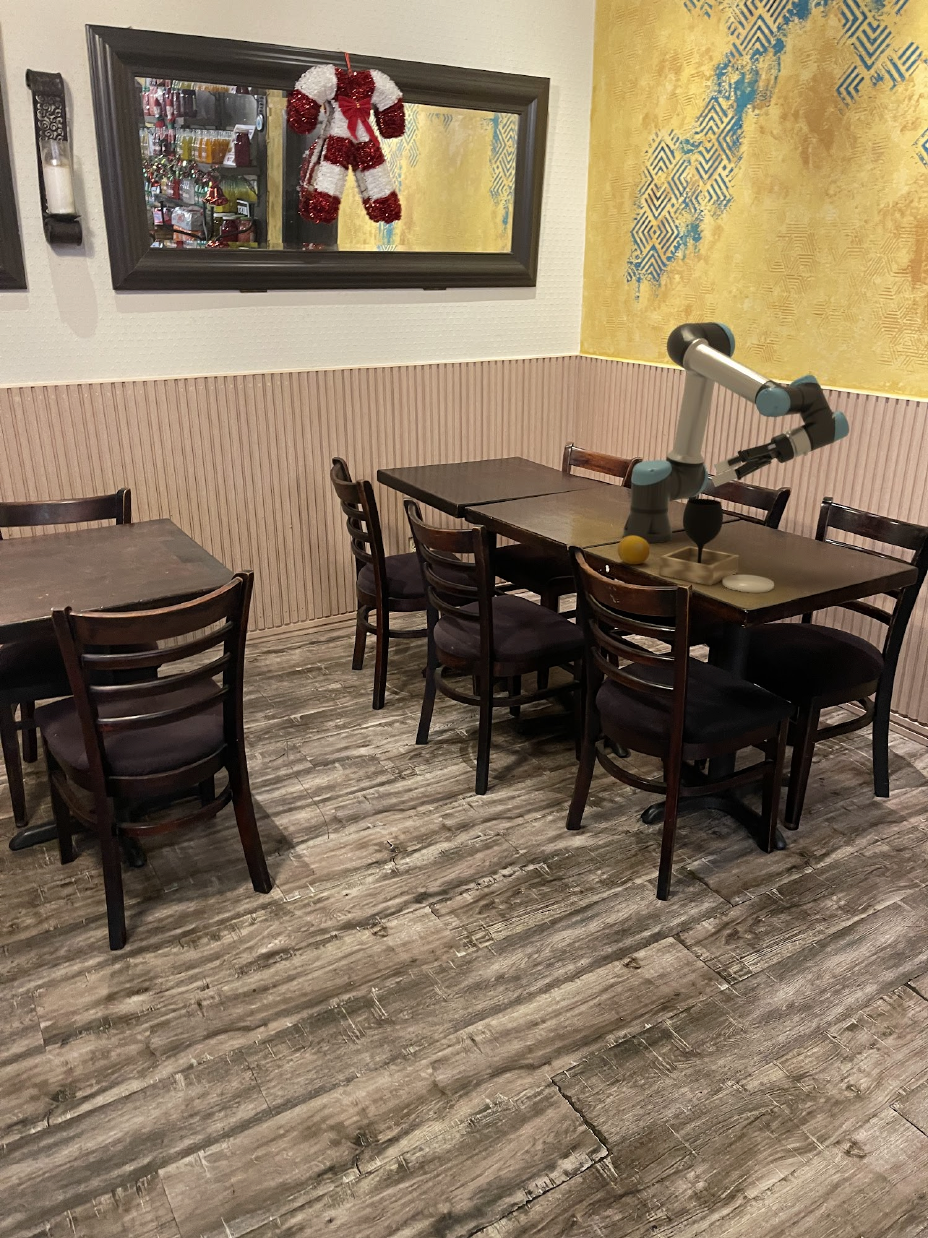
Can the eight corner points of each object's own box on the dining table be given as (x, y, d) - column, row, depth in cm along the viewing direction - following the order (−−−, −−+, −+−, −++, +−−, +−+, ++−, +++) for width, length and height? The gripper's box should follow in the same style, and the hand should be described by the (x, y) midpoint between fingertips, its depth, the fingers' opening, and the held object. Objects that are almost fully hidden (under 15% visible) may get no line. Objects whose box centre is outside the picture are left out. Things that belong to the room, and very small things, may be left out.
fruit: (632, 558, 275) (634, 531, 272) (654, 564, 269) (655, 536, 266) (611, 563, 270) (613, 535, 267) (632, 569, 264) (634, 541, 261)
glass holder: (658, 574, 259) (660, 556, 257) (687, 563, 270) (688, 545, 268) (710, 585, 249) (711, 567, 248) (737, 573, 260) (739, 555, 258)
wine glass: (716, 580, 253) (722, 507, 247) (676, 577, 256) (682, 504, 250) (719, 570, 263) (725, 499, 256) (681, 567, 266) (686, 496, 259)
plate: (713, 585, 249) (713, 582, 249) (736, 575, 258) (736, 571, 258) (759, 596, 241) (760, 592, 240) (782, 584, 250) (782, 581, 250)
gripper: (802, 443, 244) (723, 476, 247) (789, 470, 268) (717, 499, 271) (790, 418, 245) (711, 450, 249) (778, 446, 270) (707, 475, 273)
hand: (714, 476), depth 260 cm, fingers open, 13 cm apart
